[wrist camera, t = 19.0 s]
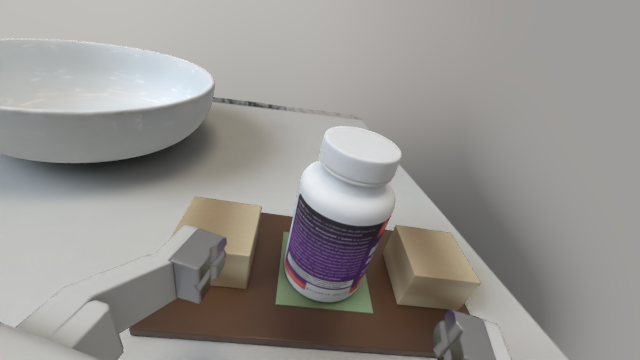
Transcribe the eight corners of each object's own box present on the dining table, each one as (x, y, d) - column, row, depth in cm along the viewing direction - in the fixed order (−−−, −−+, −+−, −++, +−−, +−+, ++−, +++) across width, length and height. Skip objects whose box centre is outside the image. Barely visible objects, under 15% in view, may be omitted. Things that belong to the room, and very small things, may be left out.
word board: (427, 240, 25) (445, 209, 23) (486, 361, 17) (522, 329, 15) (197, 209, 22) (196, 171, 20) (130, 335, 14) (117, 292, 12)
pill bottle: (368, 307, 17) (435, 178, 12) (281, 303, 16) (314, 161, 11) (352, 242, 22) (396, 128, 17) (283, 236, 21) (307, 113, 16)
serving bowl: (223, 111, 39) (224, 61, 36) (196, 207, 22) (193, 129, 19) (44, 88, 34) (23, 25, 30) (-171, 190, 17) (-276, 76, 13)
